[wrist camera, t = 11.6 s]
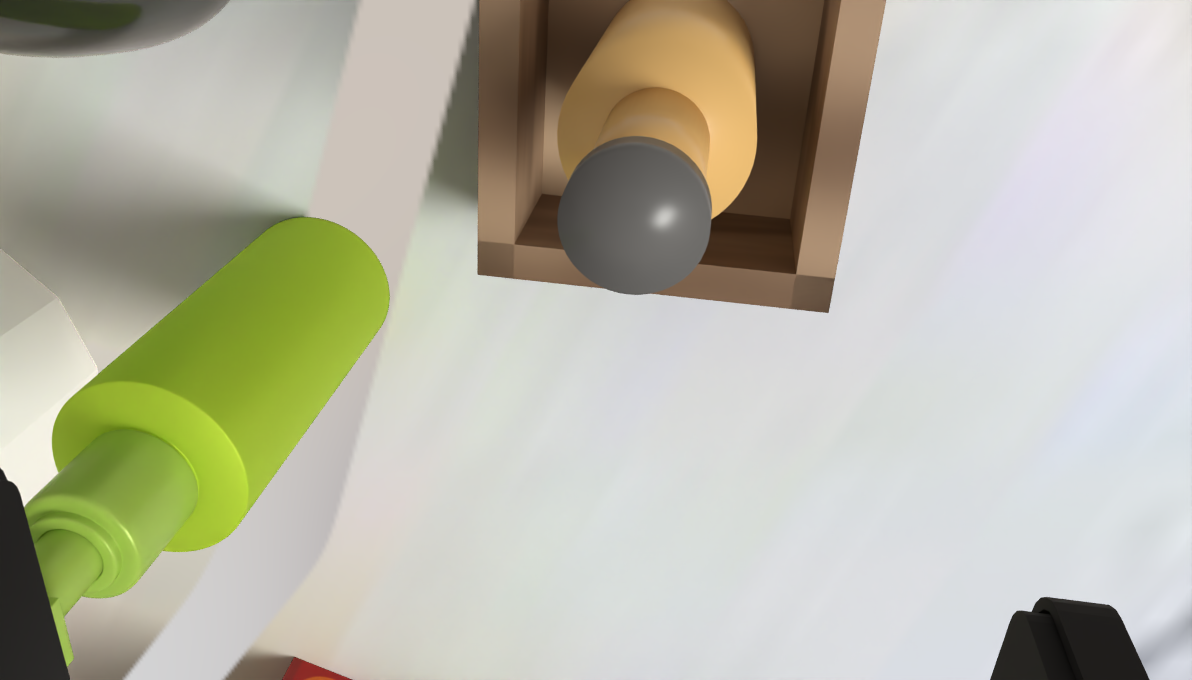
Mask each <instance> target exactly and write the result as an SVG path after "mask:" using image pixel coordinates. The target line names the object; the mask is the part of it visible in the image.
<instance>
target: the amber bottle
mask: <svg viewBox="0 0 1192 680" xmlns="http://www.w3.org/2000/svg"><path fill="white" fill-rule="evenodd" d="M557 144H558V150H559V157H560V160H561V164H562V167H563V170H564V172H565V174H566V177H567V179H568V183H567V185H566V188H565V190H564V192H563V194H562V197H561V200H560V204H559V207H558V216H557V223H558V232H559V237H560V240H561V244H562V246H563V248H564V251H565V253H566V255H567V256H568V258H569V259H570V261H571V262H572V264H573V265H574V266H575V267H576V268H577V269H578V270H579V271H580V272H581V273H582V274H583V275H584V276H585V277H586V278H588V279H589V280H590V281H592V282H594V283H595V284H597V285H599V286H601V287H603V288H605V289H608V290H611V291H614V292H618V293H623V294H633V295H641V294H650V293H655V292H659V291H662V290H665V289H667V288H669V287H671V286H674V285H675V284H677V283H678V282H680V281H682V280H683V279H684V278H685V277H686V276H688V275H689V274H690V273H691V272H692V271H693V270H694V268H695V267H696V266H697V265H698V263H699V262H700V260H701V259H702V257H703V255H704V253H705V250H706V247H707V245H708V241H709V236H710V228H711V219H713V218H714V217H716V216H717V215H719V214H720V213H721V212H722V211H723V210H725V209H726V208H727V207H728V206H729V205H730V204H731V203H732V202H733V200H734V199H735V198H736V197H737V196H738V194H739V193H740V191H741V190H742V188H743V187H744V185H745V183H746V181H747V179H748V177H749V175H750V172H751V170H752V167H753V164H754V159H755V155H756V147H757V117H756V84H755V56H754V47H753V42H752V38H751V35H750V32H749V30H748V28H747V26H746V24H745V22H744V20H743V18H742V17H741V16H740V14H739V13H738V11H737V10H736V9H735V8H734V7H733V6H732V5H731V4H730V3H729V2H728V1H727V0H630V1H628V2H627V3H626V4H625V5H624V6H623V7H622V8H621V9H620V10H619V11H618V13H617V14H616V15H615V17H614V18H613V20H612V21H611V23H610V24H609V26H608V28H607V29H606V31H605V32H604V34H603V36H602V37H601V39H600V40H599V42H598V44H597V45H596V47H595V48H594V50H593V52H592V53H591V55H590V56H589V58H588V60H587V61H586V63H585V64H584V66H583V68H582V69H581V71H580V72H579V74H578V76H577V77H576V79H575V80H574V82H573V84H572V85H571V87H570V89H569V91H568V93H567V94H566V97H565V99H564V102H563V104H562V107H561V111H560V115H559V120H558V129H557Z"/></svg>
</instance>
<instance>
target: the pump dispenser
mask: <svg viewBox="0 0 1192 680" xmlns="http://www.w3.org/2000/svg"><path fill="white" fill-rule="evenodd" d="M229 1H230V0H0V54H6V55H16V56H28V57H52V58H61V57H85V56H97V55H106V54H115V53H122V52H129V51H136V50H141V49H146V48H150V47H154V46H157V45H161V44H164V43H167V42H170V41H172V40H175V39H177V38H180V37H182V36H184V35H186V34H189V33H191V32H192V31H194V30H196V29H198V28H199V27H201V26H203V25H204V24H205V23H207V22H208V21H210V20H211V19H212V18H213V17H214V16H216V15H217V14H218V13H219V12H220V11H221V10H222V9H223V8H224V7H225V6H226V4H227V3H228V2H229Z"/></svg>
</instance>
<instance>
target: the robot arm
mask: <svg viewBox="0 0 1192 680" xmlns="http://www.w3.org/2000/svg"><path fill="white" fill-rule="evenodd" d="M0 680H70V676H69V673H68V669H67V665H66V661H65V658H64V654H63V650H62V647H61V643H60V639H59V635H58V632H57V628H56V624H55V621H54V617H53V613H52V609H51V606H50V602H49V598H48V595H47V591H46V587H45V584H44V580H43V576H42V572H41V569H40V565H39V561H38V558H37V554H36V550H35V546H34V543H33V539H32V535H31V532H30V528H29V524H28V520H27V517H26V513H25V509H24V506H23V502H22V498H21V494H20V492H19V490H18V487H17V486H16V485H15V484H14V483H13V482H11V481H8V480H7V478H6V476H5V473H4V471H3V470H2V469H1V468H0ZM990 680H1149V678H1148V675H1147V673H1146V671H1145V669H1144V667H1143V665H1142V662H1141V660H1140V658H1139V656H1138V654H1137V652H1136V649H1135V647H1134V645H1133V643H1132V641H1131V638H1130V636H1129V634H1128V632H1127V630H1126V628H1125V625H1124V623H1123V621H1122V619H1121V617H1120V616H1119V614H1118V612H1117V611H1116V609H1114V608H1113V607H1111V606H1110V605H1105V604H1097V603H1089V602H1081V601H1073V600H1066V599H1058V598H1050V597H1043V598H1040V599H1039V600H1038V601H1037V602H1036V604H1035V606H1034V608H1033V610H1032V612H1028V611H1016V612H1015V613H1014V615H1013V616H1012V619H1011V621H1010V623H1009V626H1008V629H1007V632H1006V635H1005V638H1004V641H1003V644H1002V647H1001V650H1000V653H999V656H998V658H997V661H996V664H995V667H994V670H993V673H992V676H991V679H990Z"/></svg>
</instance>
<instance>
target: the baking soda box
mask: <svg viewBox="0 0 1192 680" xmlns="http://www.w3.org/2000/svg"><path fill="white" fill-rule="evenodd" d="M282 680H352V679H349V678H346V677H344V676H341V675H339V674H336V673H334V672H331V671H329V670H326V669H324V668H321V667H319V666H316V665H314V664H311V663H309V662H306V661H304V660H301V659H299V658H296V657H294V658H293V660H292V662H291V664H290V666H289V668H288V669H287V671H286V673H285V675H284V677H283V679H282Z"/></svg>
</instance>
